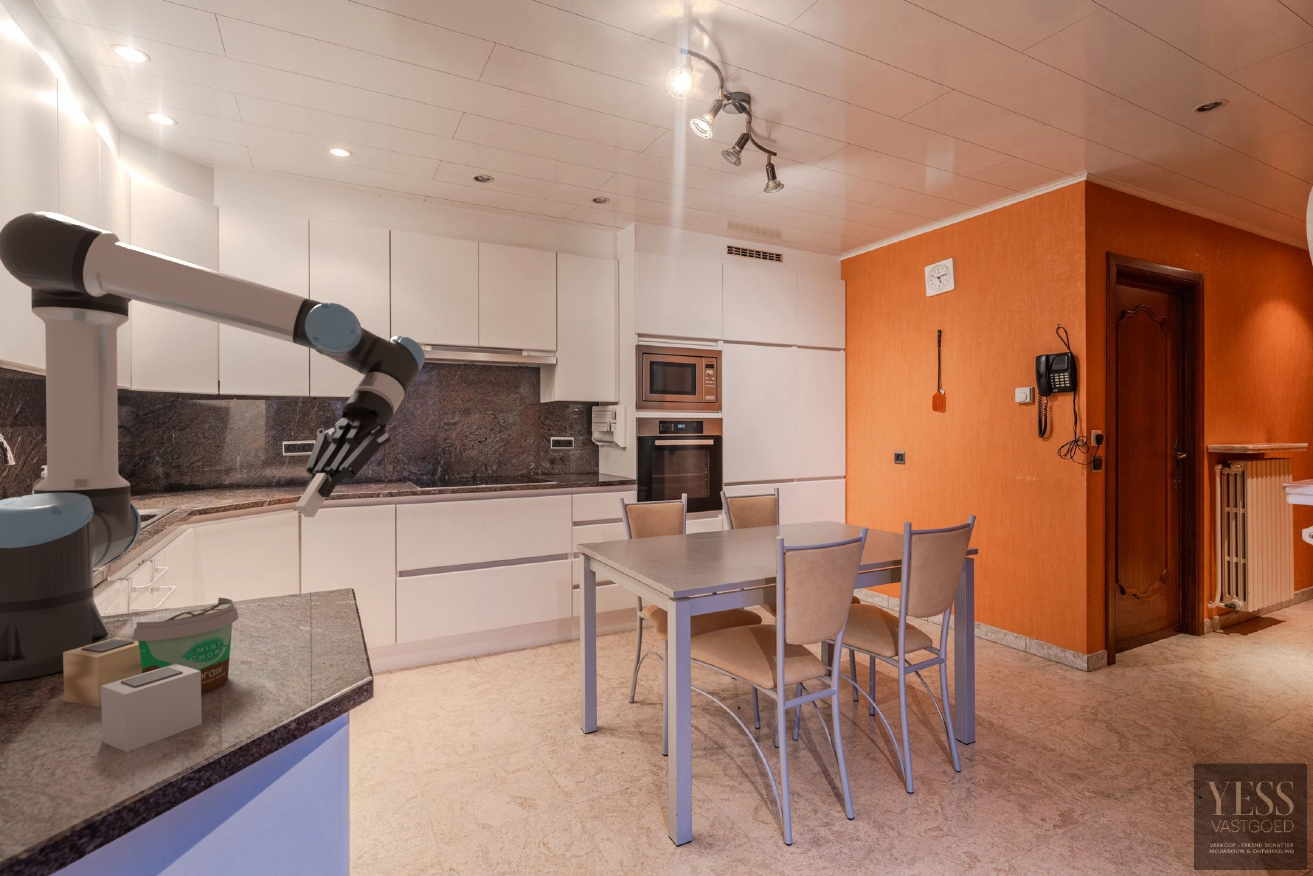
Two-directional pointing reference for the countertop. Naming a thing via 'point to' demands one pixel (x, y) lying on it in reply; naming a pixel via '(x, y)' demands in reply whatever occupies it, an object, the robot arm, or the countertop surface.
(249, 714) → the countertop surface
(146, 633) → the food container
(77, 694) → the oak block
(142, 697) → the grey painted block
